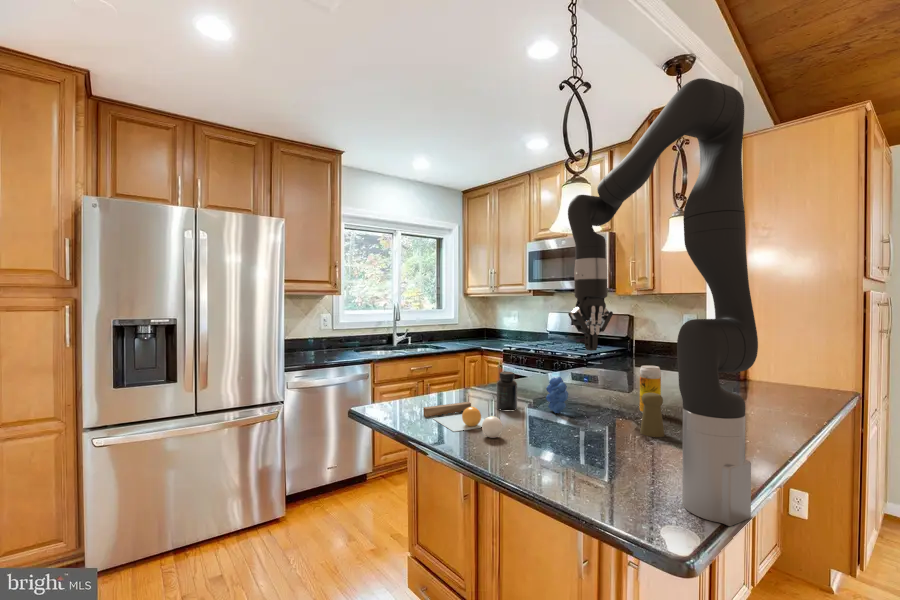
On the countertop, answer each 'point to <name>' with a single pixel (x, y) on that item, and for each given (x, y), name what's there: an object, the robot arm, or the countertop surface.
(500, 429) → the cue ball
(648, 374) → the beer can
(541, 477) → the countertop surface
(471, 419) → the orange ball
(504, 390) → the supplement bottle
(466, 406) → the wooden stick
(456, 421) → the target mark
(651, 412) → the olive tall flared piece
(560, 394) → the grapes
